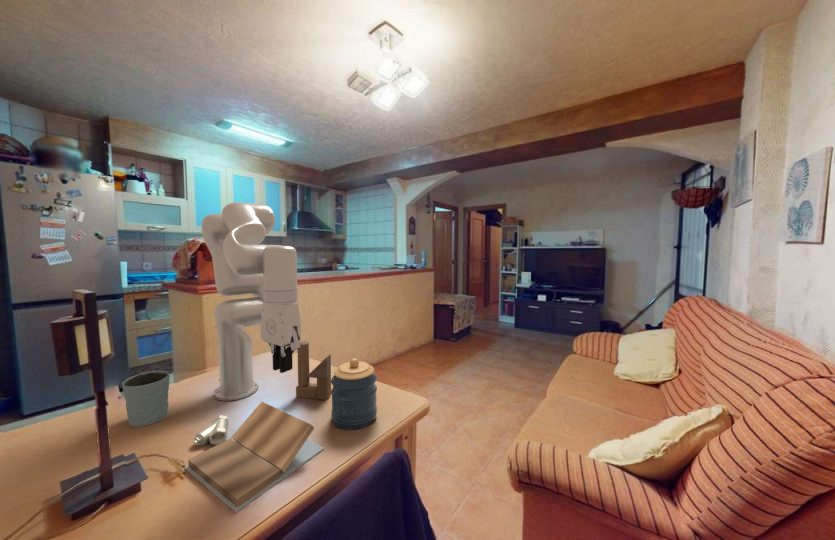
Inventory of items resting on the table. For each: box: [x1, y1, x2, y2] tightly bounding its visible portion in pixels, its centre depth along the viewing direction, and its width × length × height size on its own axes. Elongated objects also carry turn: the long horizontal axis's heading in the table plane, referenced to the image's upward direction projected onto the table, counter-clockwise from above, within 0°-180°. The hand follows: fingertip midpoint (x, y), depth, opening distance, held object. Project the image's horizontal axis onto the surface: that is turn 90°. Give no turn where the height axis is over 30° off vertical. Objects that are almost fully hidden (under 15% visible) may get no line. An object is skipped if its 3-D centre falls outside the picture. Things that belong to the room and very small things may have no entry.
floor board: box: [187, 437, 280, 507], centre depth 67 cm, size 20×9×2 cm, turn 58°
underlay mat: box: [184, 439, 325, 513], centre depth 71 cm, size 21×21×1 cm
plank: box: [230, 401, 315, 472], centre depth 74 cm, size 20×10×2 cm
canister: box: [330, 357, 378, 430], centre depth 88 cm, size 13×13×18 cm
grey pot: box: [121, 370, 171, 427], centre depth 87 cm, size 10×10×12 cm
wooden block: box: [295, 340, 332, 400], centre depth 100 cm, size 4×11×18 cm, turn 83°
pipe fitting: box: [193, 415, 229, 446], centre depth 79 cm, size 8×4×7 cm
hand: (282, 369), depth 76 cm, fingers closed
